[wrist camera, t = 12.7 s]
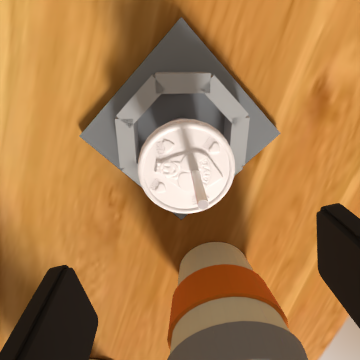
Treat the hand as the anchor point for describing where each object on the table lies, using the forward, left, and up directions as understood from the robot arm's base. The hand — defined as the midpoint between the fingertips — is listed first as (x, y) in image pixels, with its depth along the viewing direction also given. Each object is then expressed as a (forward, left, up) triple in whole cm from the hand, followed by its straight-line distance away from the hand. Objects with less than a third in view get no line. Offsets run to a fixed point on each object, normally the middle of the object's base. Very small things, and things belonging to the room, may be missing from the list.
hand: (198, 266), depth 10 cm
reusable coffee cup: (-16, +10, -19) cm, 26 cm away
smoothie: (0, 0, -18) cm, 18 cm away
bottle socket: (0, 0, -19) cm, 19 cm away
